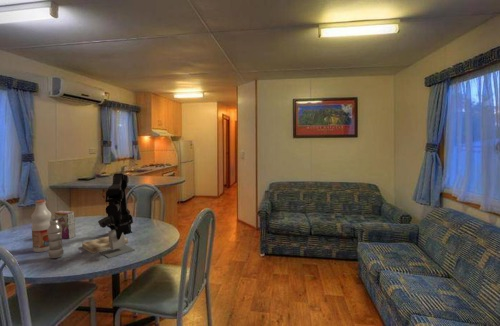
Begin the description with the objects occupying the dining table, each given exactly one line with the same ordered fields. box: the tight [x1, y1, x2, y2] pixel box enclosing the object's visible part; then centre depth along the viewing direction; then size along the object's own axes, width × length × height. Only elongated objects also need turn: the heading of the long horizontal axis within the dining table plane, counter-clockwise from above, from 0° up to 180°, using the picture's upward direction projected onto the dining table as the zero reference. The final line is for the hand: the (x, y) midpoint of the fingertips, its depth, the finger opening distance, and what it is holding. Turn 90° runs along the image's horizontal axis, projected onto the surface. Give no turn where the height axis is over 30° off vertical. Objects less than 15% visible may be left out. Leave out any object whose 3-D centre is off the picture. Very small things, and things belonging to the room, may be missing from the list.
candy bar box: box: [54, 210, 77, 240], centre depth 177 cm, size 11×5×16 cm, turn 72°
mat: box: [99, 244, 136, 259], centre depth 153 cm, size 14×12×1 cm
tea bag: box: [108, 229, 127, 250], centre depth 153 cm, size 4×7×10 cm, turn 140°
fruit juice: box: [30, 199, 52, 253], centre depth 157 cm, size 9×9×28 cm
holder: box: [81, 235, 129, 254], centre depth 163 cm, size 20×14×2 cm
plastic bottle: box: [47, 218, 65, 259], centre depth 145 cm, size 6×7×20 cm
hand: (116, 238), depth 153 cm, fingers closed on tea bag, 4 cm apart
